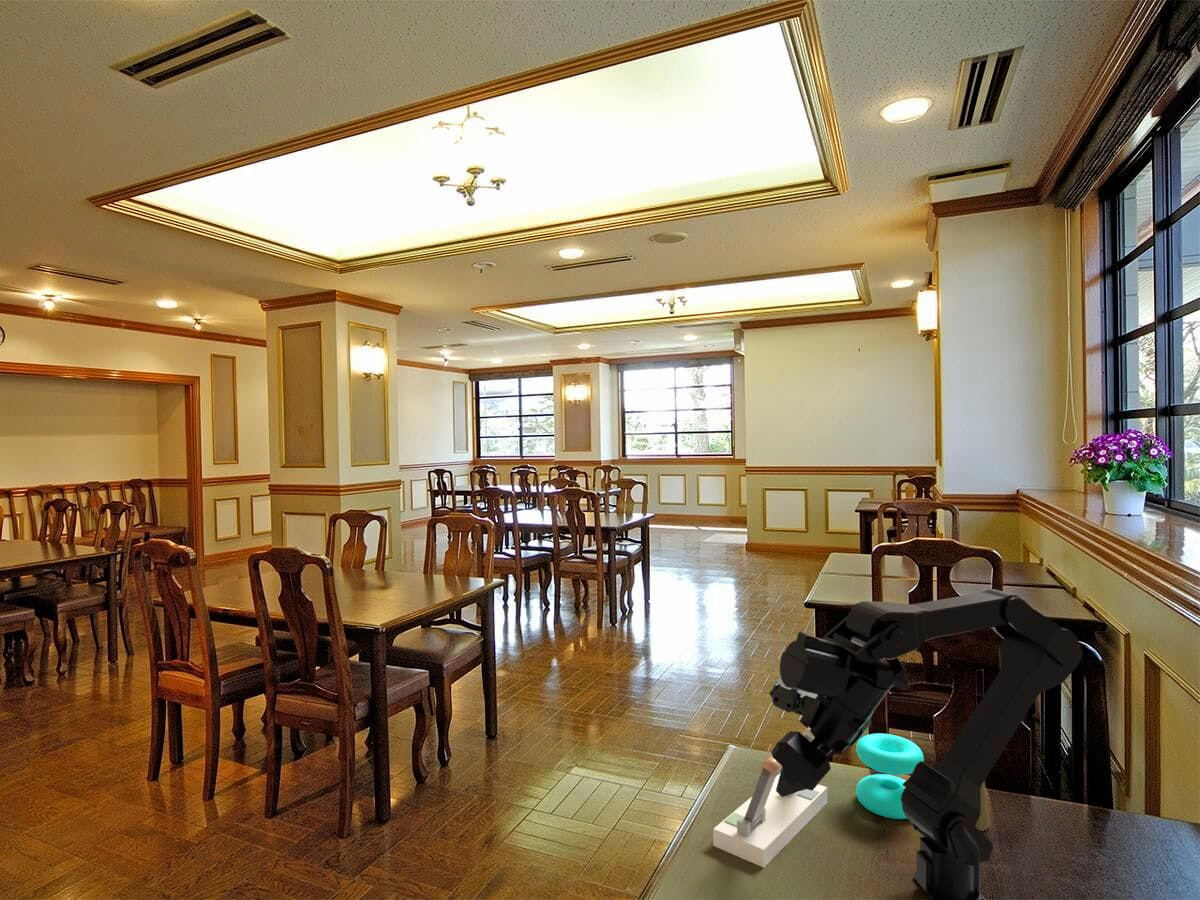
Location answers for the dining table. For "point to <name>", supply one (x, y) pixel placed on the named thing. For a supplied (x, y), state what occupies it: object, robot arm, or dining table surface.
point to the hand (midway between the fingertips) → (794, 777)
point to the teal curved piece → (891, 759)
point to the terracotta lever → (762, 790)
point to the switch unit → (769, 824)
